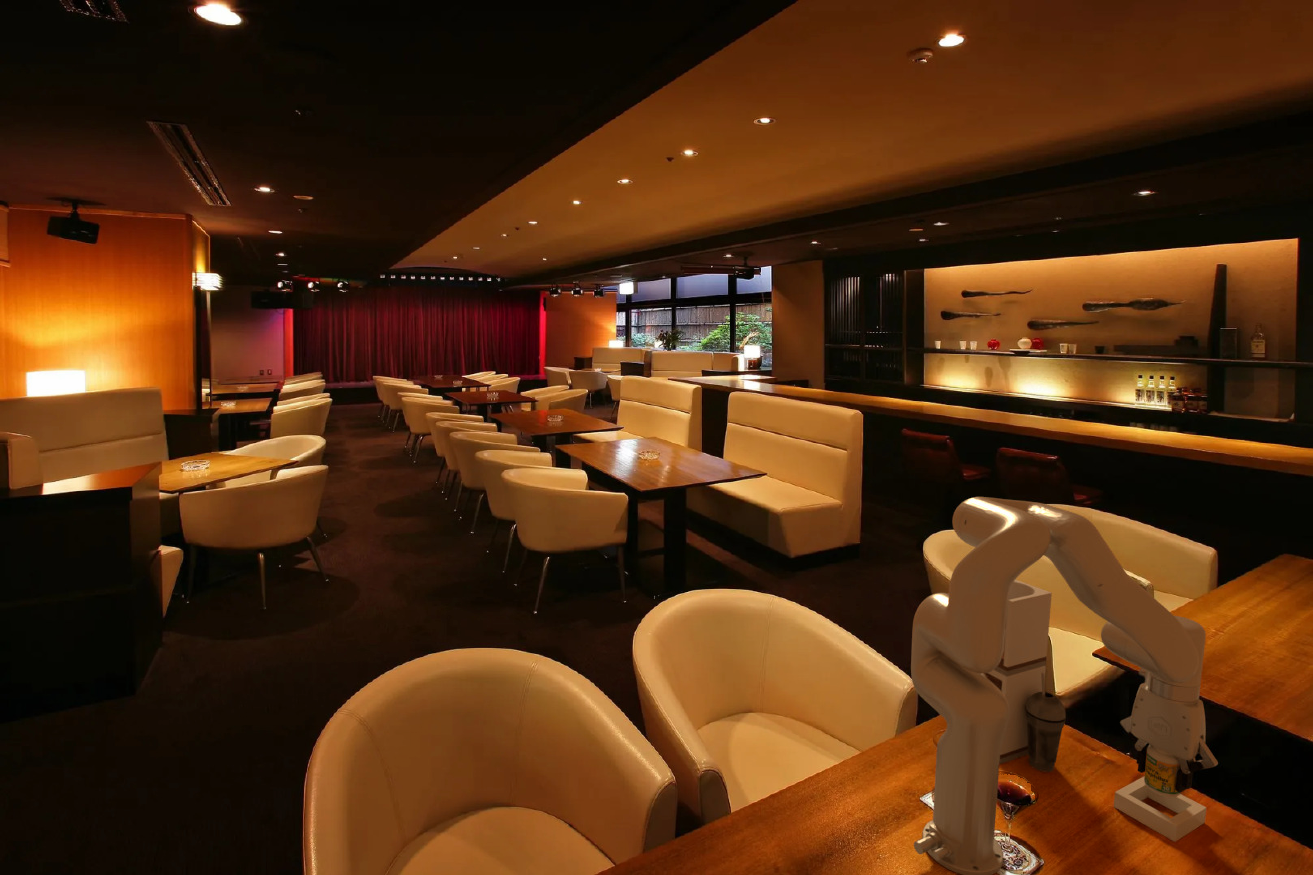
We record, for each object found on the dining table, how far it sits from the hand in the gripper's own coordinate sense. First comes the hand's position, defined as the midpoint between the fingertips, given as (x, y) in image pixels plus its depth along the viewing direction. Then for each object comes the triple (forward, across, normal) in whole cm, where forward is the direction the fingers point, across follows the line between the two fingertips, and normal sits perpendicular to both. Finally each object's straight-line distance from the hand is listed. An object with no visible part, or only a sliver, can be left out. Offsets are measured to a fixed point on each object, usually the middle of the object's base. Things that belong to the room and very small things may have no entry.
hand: (1162, 778), depth 121 cm
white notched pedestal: (+7, -28, -6) cm, 30 cm away
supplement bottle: (+2, 0, 0) cm, 2 cm away
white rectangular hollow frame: (+7, 0, 0) cm, 7 cm away
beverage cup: (+7, -19, -5) cm, 21 cm away
